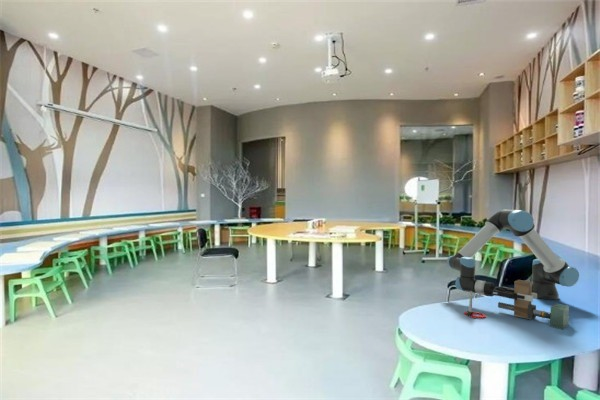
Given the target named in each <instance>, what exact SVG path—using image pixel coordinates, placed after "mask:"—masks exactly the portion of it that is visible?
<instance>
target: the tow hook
mask: <svg viewBox="0 0 600 400" xmlns="http://www.w3.org/2000/svg"><path fill="white" fill-rule="evenodd" d="M469 293H470V295H469V303H468V310H467V312H466V311H464V312H463V314H464V315H465V316H467V317H470V318H471V319H474V320H475V319H486V318H487V315H486V314H485V313H482V312H478V311H473V293H472V291H470V292H469Z"/></svg>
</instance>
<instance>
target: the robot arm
mask: <svg viewBox="0 0 600 400" xmlns="http://www.w3.org/2000/svg"><path fill="white" fill-rule="evenodd" d="M534 220H535V219H534V217H533V215H532V214H531V213H530V212H528V211H525V210H523V209H501V210H499V211H497V212H496V213H494V214H493V215H492V216H490V217H489V218H488V219H487V220H486V221H485V223H484V226H483V227H482V228H481V229H480V230H479V231H478V232H476V234H475V235H474V236H472V238H471V239H469V241H468V242H466V243H465V245H464V246H462V247H461V248H460V250H459V251H457V253H455V254H454V255H450V256H449V257H448V258H447V259H446V264H447V266H448V267H449V268H451V269H452V270H456V271H458V272H459V276H457V277H456V279H455V282H454V283H455V288H456V289H457V290H458V291H463V292H465V293H466V292H467V293H470V291H472V294H476V295H477V294H478V295H479V296H481V295H483V296H487V297H490V298H491V297H494V296H495V297H496V296H497V297H502V298H506V299H511V300H514V298H515V300H517V299H521V300H526V301H531V303H533V301H534V300H538V299H542V300H551V301H552V300H553V301H554V300H559V299H560V298H559V297H560V296H559V291H558V289H557V287H556V284H557V285H560V286H562V287H569V288H570V287H573V286H575V285H577V283H578V281H579V279H580V272H579V270H578V269H577V268H576V267H574V266H571V265H569V264H568V263H567V262H566V261H565V259H563V258H559V257H558V256H557V254H556V252H554V251H553V249H552V248H551V247H550V246H549V244H548V243H547V242H546V240H544V238H543V237H541V236H540V234H539V233H538V232H537V231H536V229H535V228H536V225H535V222H534ZM503 230H509V231H510V232H511V233H512V234H513V236H515V237H516V238H520V239H521V240H522V242H523V243H524V245H526V246H527V248H528V249H529V250H530V251H531V252H532V253H533V254H534V256H535V257H536V258H537V259H533V260H532V265H531V266H532V267H531V268H532V269H531V270H532V273H531V274H532V275H531V276H532V281H531V282H532V296H530V295H525V294H520V293H517V294H516V293H514V288H513V287H508V286H507V287H506V286H503V285H502V286H496V284H495V283H494V282H492V281H491V282H490V281H486V280H480V279H476V260H475V258H474V257H473V256H475V255H476V254H477V253H478V252H479V251H480V250H481V249H482V248H483V247H484V246H485V245H486V244H487V243H488V242H489V241H490V240H491V239H492V238H493V237H494V236H495V235H496V234H500V233H501V232H502V231H503Z"/></svg>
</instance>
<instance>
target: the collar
mask: <svg viewBox="0 0 600 400" xmlns="http://www.w3.org/2000/svg"><path fill="white" fill-rule="evenodd" d="M533 309H535V310H537V305H536V304H532V303H531V305H530V306H528V319H527V320H534V319H535V318H536V317H537V316H534V315H533Z"/></svg>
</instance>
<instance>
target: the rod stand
mask: <svg viewBox="0 0 600 400" xmlns="http://www.w3.org/2000/svg"><path fill="white" fill-rule="evenodd" d="M497 307H498V308H499V309H502V310H503V309H504V310H507V311H513V312H514V304H511V303H506V302H501V301H499V302H498V303H497ZM533 315H534V316H536V317H539V318H542V319H548V320H549V321H550V325H549V326H550V327H551V328H555V329H560V330H565V329H566V328H567V327H568V326H569V324H570V322H569V321H570V320H569V319H570V306H569V305H566V304H561V303H554V304H553V305H552V306H550V312H548V311H545V310H538V309H536V310H535V309H533Z"/></svg>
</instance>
